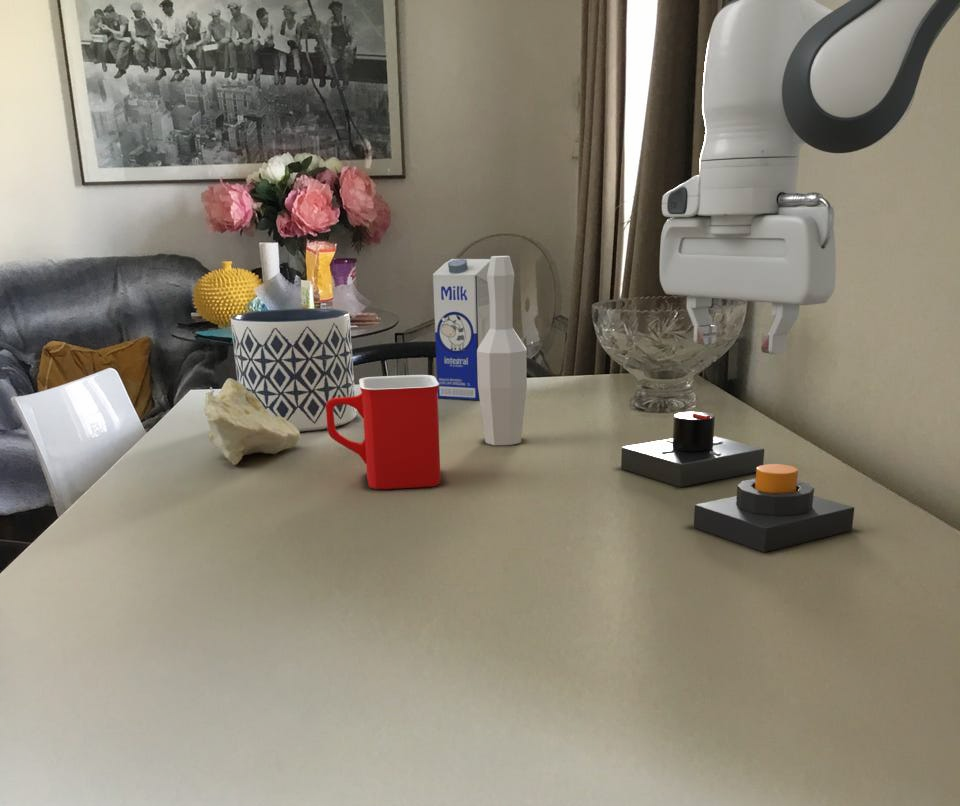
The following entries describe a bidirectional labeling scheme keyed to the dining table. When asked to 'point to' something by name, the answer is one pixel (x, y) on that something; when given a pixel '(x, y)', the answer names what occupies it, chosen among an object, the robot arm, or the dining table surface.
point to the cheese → (245, 424)
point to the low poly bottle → (501, 361)
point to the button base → (773, 517)
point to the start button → (776, 478)
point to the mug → (395, 430)
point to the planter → (296, 363)
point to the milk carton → (460, 324)
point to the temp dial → (693, 431)
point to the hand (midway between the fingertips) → (737, 348)
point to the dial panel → (691, 461)
